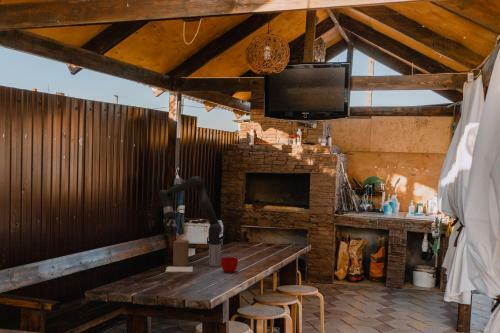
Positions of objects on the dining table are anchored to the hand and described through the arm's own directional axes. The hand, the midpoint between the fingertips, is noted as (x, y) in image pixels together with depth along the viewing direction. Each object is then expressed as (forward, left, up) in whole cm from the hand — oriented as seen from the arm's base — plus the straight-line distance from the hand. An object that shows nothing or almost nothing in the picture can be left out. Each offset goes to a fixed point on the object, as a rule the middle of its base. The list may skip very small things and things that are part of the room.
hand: (172, 231), depth 418 cm
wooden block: (-8, +11, -26) cm, 29 cm away
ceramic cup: (-46, +38, -26) cm, 65 cm away
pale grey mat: (-8, +27, -26) cm, 39 cm away
